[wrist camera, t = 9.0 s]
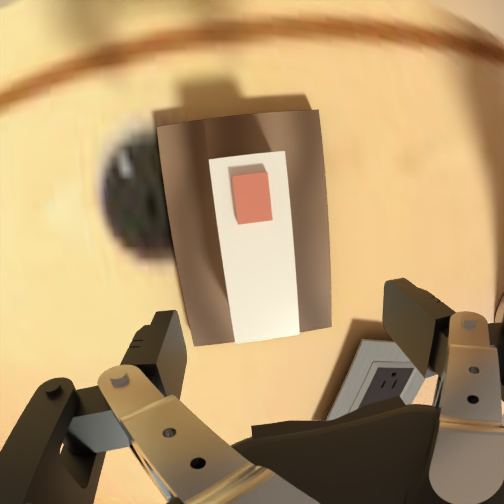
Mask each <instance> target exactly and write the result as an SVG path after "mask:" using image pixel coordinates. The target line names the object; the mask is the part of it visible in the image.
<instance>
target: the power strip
mask: <svg viewBox="0 0 504 504" xmlns="http://www.w3.org/2000/svg"><path fill="white" fill-rule="evenodd" d="M209 166H210V174H211V182H212V190H213V197H214V205H215V212H216V219H217V227H218V234H219V241H220V248H221V255H222V261H223V268H224V275H225V281H226V288H227V294H228V301H229V307H230V314H231V320H232V326H233V332H234V338H235V344H239V343H246V342H254V341H261V340H267V339H274V338H281V337H287V336H293V335H299V334H300V331H299V313H298V297H297V282H296V268H295V255H294V242H293V230H292V218H291V207H290V196H289V186H288V176H287V166H286V157H285V151H278V152H268V153H258V154H249V155H240V156H232V157H224V158H216V159H209Z"/></svg>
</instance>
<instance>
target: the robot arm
mask: <svg viewBox="0 0 504 504" xmlns="http://www.w3.org/2000/svg"><path fill="white" fill-rule="evenodd" d="M383 325H384V328H385V331H386V332H387V333H388V335H389V336H390V337H391V338H392V339H393V341H394V342H395V343H396V344H397V345H398V346H399V348H400V349H401V350H402V351H403V352H404V354H405V355H406V356H407V357H408V359H409V360H410V361H411V362H412V363H413V365H414V366H415V367H416V368H417V369H418V371H419V372H420V373H421V374H422V376H423V377H424V378H428V377H431V376H433V375H436V374H438V375H439V376H438V380H437V384H436V389H435V394H434V399H433V404H432V406H430V405H421V404H407V405H405V403H404V402H403V400H402V399H401V397H400V396H396V397H393V398H389V399H386V400H382V401H379V402H375V403H371V404H367V405H365V406H363V407H361V408H359V409H356V410H354V411H352V412H350V413H348V414H345V415H343V416H341V417H339V418H336V419H334V420H327V421H284V422H278V423H271V424H263V425H255V426H251V428H252V437H250V438H247V439H244V440H242V441H239V442H237V443H235V444H233V445H231V446H230V445H228V444H227V443H226V442H225V441H224V440H223V439H221V438H220V437H219V436H218V435H217V434H216V433H214V432H213V431H212V430H211V429H210V428H209V427H208V426H207V425H205V424H204V423H203V422H202V421H201V420H200V419H199V418H198V417H197V416H196V415H194V414H193V413H192V412H191V411H190V410H189V409H188V408H187V407H186V406H185V405H184V404H183V403H182V402H181V401H180V395H181V390H182V384H183V379H184V374H185V368H186V363H187V351H186V345H185V341H184V337H183V333H182V329H181V324H180V320H179V316H178V313H177V311H176V310H169V311H159V312H156V313H155V316H154V318H153V320H152V322H151V324H150V325H144V326H143V327H142V328H141V329H140V330H139V331H137V332H136V334H135V336H134V338H133V340H132V342H131V344H130V346H129V348H128V350H127V352H126V354H125V356H124V358H123V360H122V362H121V364H120V365H119V366H115V367H112V368H110V369H108V370H106V371H105V372H104V373H102V374H101V376H100V377H99V379H98V385H97V386H94V387H89V388H84V389H79V390H76V389H75V387H74V384H73V382H72V381H71V380H70V379H67V378H54V379H51V380H48V381H46V382H45V383H43V384H42V385H40V386H39V387H38V389H37V390H36V392H35V393H34V395H33V396H32V398H31V400H30V401H29V403H28V405H27V406H26V408H25V409H24V411H23V413H22V415H21V416H20V418H19V420H18V421H17V423H16V425H15V427H14V428H13V430H12V432H11V434H10V435H9V437H8V439H7V441H6V443H5V444H4V446H3V448H2V450H1V452H0V504H93V503H94V498H95V494H96V490H97V486H98V482H99V478H100V474H101V470H102V466H103V462H104V458H105V454H106V451H109V450H114V449H119V448H124V447H129V449H130V450H131V452H132V453H133V455H134V456H135V457H136V459H137V460H138V462H139V463H140V465H141V466H142V467H143V469H144V470H145V472H146V473H147V474H148V476H149V477H150V479H151V480H152V481H153V483H154V484H155V485H156V487H157V488H158V490H159V491H160V492H161V494H162V495H163V497H164V498H165V499H166V501H167V502H168V503H166V504H504V426H502V408H501V399H502V400H503V402H504V295H503V297H502V299H501V301H500V304H499V306H498V309H497V313H496V317H495V323H490V324H488V323H487V320H486V319H485V318H484V317H483V316H482V315H480V314H477V313H474V312H468V311H463V312H457V313H456V312H455V311H453V310H452V309H451V308H449V307H448V306H447V305H445V304H444V303H443V302H441V301H440V300H439V299H438V298H435V296H433V295H432V294H431V293H429V292H428V291H426V290H423V289H421V288H418V287H416V286H415V285H413V284H412V283H411V282H409V281H408V280H407V279H405V278H400V279H394V280H389V281H386V282H385V285H384V300H383ZM62 442H63V444H64V446H63V448H62V451H61V453H60V448H61V445H62Z"/></svg>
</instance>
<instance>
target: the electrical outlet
mask: <svg viewBox="0 0 504 504" xmlns="http://www.w3.org/2000/svg"><path fill="white" fill-rule="evenodd" d="M424 380H425V378H424V377H423V376H422V374H421V373H420V372H419V371H418V369H417V368H416V367H415V366H414V365H413V363H412V362H411V361H410V360H409V359H408V357H407V356H406V355H405V354H404V352H403V351H402V350H401V349H400V348H399V346H398V345H397V344H396V343H395V342H394V341H385V340H372V339H361V342H360V344H359V347H358V349H357V352H356V354H355V357H354V359H353V361H352V364H351V366H350V368H349V371H348V373H347V375H346V377H345V380H344V382H343V384H342V386H341V389H340V391H339V393H338V395H337V397H336V399H335V401H334V404H333V406H332V408H331V410H330V412H329V414H328V416H327V418H326V420H325V421H327V420H334V419H336V418H339V417H341V416H343V415H345V414H348V413H350V412H352V411H354V410H356V409H359V408H361V407H363V406H365V405H367V404H371V403H375V402H379V401H382V400H386V399H389V398H393V397H396V396H400V397H401V399H402V400H403V402H404V403H405V405H407V404H411V403H412V402H413V400H414V398H415V396H416V395H417V393H418V391H419V389H420V387H421V386H422V384H423V382H424Z"/></svg>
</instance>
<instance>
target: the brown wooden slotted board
mask: <svg viewBox="0 0 504 504" xmlns="http://www.w3.org/2000/svg"><path fill="white" fill-rule="evenodd" d="M157 134H158V143H159V151H160V159H161V167H162V175H163V182H164V189H165V196H166V202H167V209H168V215H169V221H170V227H171V233H172V239H173V245H174V251H175V256H176V262H177V267H178V272H179V278H180V283H181V288H182V293H183V298H184V302H185V307H186V312H187V317H188V321H189V326H190V330H191V335H192V339H193V343H194V346H203V345H213V344H221V343H230V342H235V338H234V332H233V326H232V320H231V314H230V307H229V301H228V294H227V288H226V281H225V275H224V268H223V261H222V255H221V248H220V241H219V234H218V227H217V219H216V212H215V205H214V197H213V190H212V182H211V174H210V166H209V159H216V158H224V157H232V156H240V155H249V154H258V153H268V152H278V151H285V157H286V166H287V176H288V186H289V196H290V207H291V218H292V230H293V242H294V255H295V268H296V282H297V297H298V313H299V331H300V332H305V331H311V330H317V329H322V328H328V327H332V322H331V266H330V241H329V221H328V205H327V191H326V178H325V166H324V155H323V145H322V135H321V126H320V118H319V110H298V111H281V112H267V113H255V114H245V115H235V116H226V117H218V118H211V119H203V120H196V121H190V122H183V123H177V124H171V125H165V126H160V127H157Z"/></svg>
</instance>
